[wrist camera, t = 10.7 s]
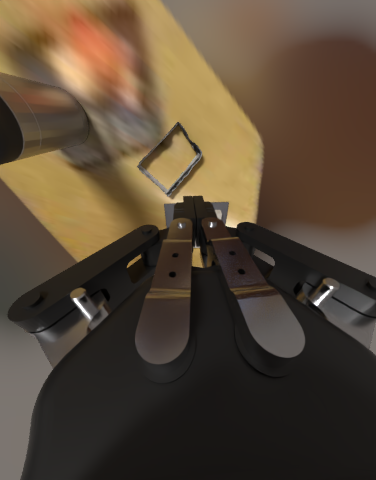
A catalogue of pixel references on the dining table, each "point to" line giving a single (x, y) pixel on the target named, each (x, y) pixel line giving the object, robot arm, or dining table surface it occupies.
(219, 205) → the rubber mat
